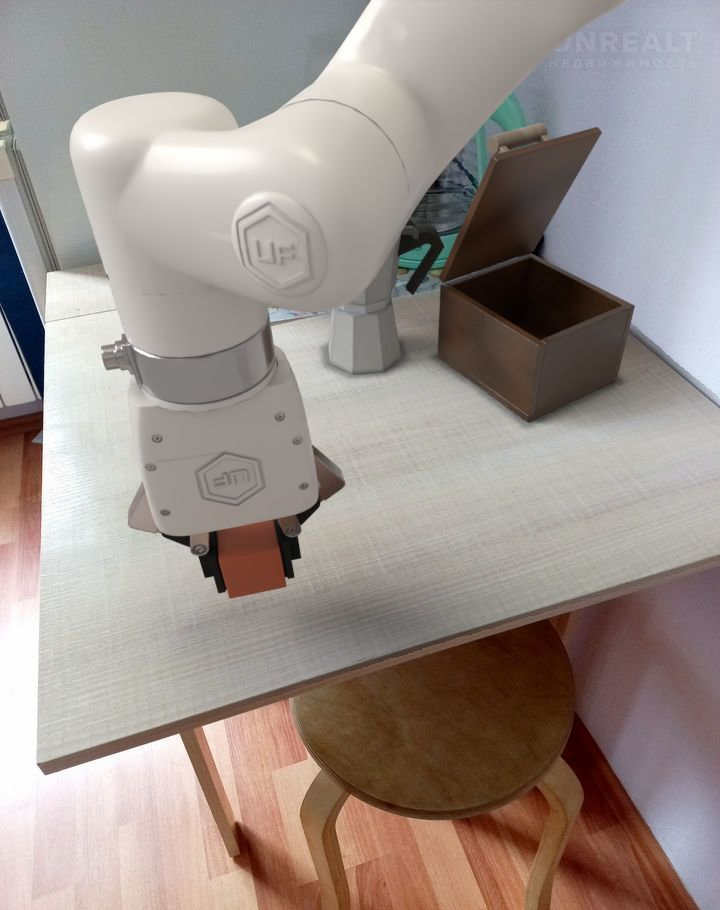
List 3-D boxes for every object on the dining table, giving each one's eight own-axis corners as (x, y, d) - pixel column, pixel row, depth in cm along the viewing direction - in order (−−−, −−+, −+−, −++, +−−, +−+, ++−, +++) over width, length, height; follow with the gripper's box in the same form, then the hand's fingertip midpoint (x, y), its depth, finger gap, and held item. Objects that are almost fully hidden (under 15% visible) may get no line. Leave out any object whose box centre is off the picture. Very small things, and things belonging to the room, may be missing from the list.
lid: (602, 131, 64) (572, 99, 66) (497, 161, 59) (467, 125, 61) (533, 251, 78) (509, 222, 79) (442, 283, 73) (418, 251, 74)
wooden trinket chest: (617, 380, 74) (635, 305, 69) (527, 422, 69) (539, 346, 64) (521, 322, 84) (530, 252, 78) (437, 356, 79) (440, 284, 73)
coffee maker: (309, 379, 76) (294, 217, 65) (306, 337, 83) (292, 182, 71) (446, 368, 77) (455, 206, 65) (432, 327, 84) (438, 173, 72)
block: (279, 546, 52) (271, 507, 49) (286, 587, 49) (279, 548, 46) (224, 556, 51) (214, 518, 49) (229, 599, 48) (218, 561, 46)
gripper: (36, 418, 34) (134, 639, 46) (370, 361, 37) (381, 586, 48) (52, 340, 40) (136, 555, 52) (341, 295, 42) (358, 511, 54)
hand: (254, 568), depth 50 cm, fingers closed on block, 4 cm apart
